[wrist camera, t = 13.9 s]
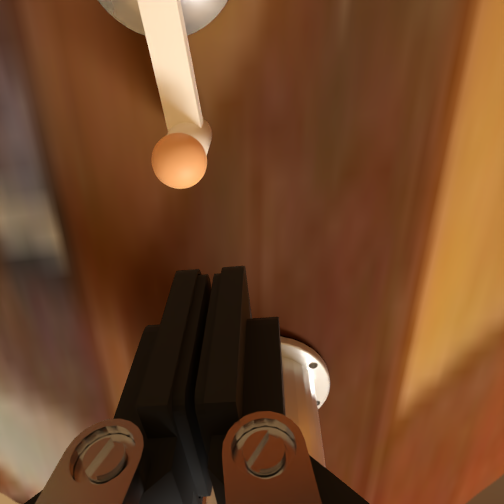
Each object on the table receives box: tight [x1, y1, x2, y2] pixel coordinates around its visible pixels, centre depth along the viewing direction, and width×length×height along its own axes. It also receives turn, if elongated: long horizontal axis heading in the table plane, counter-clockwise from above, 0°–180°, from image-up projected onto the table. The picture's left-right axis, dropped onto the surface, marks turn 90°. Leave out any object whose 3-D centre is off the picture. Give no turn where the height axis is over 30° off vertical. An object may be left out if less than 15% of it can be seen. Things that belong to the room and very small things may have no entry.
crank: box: [137, 0, 212, 189], centre depth 22 cm, size 4×13×7 cm, turn 7°
